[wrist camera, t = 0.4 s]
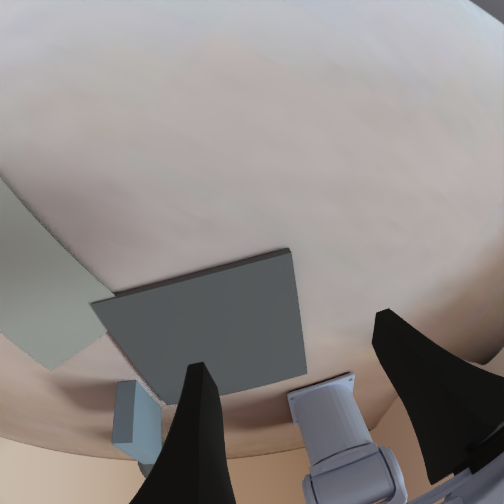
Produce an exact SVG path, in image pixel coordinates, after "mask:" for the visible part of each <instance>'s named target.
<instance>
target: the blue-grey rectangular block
mask: <svg viewBox="0 0 504 504" xmlns="http://www.w3.org/2000/svg"><path fill="white" fill-rule="evenodd" d="M112 444H113V445H114V446H116V447H117V448H119V449H120V450H122V451H123V452H125V453H126V454H128V455H129V456H131V457H132V458H134V459H136V460H137V461H139V462H140V463H142V464H155V462H156V460H157V458H158V456H159V454H160V452H161V449H162V436H161V407H160V406H159V405H158V404H157V403H156V402H155V401H154V400H153V398H152V397H151V396H150V395H149V394H148V393H147V392H146V391H145V390H144V388H143V387H142V386H141V385H140V384H139V383H138V381H137V380H133V381H126V382H118V384H117V392H116V400H115V410H114V420H113V432H112Z"/></svg>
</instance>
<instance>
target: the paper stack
mask: <svg viewBox="0 0 504 504" xmlns="http://www.w3.org/2000/svg"><path fill="white" fill-rule="evenodd" d="M113 297H116V296H115V295H114V294H113V293H112V292H110V291H109V290H108V289H107V288H106V287H105V286H104V285H103V284H101V283H100V282H99V281H98V280H97V279H96V278H95V277H94V276H93V275H92V274H90V273H89V272H88V271H87V270H86V269H85V268H84V267H83V266H82V265H81V264H80V263H79V262H78V261H77V260H76V259H75V258H74V257H73V256H71V255H70V254H69V253H68V252H67V251H66V250H65V249H64V248H63V247H62V246H61V245H60V244H59V243H58V242H57V241H56V240H55V239H54V238H53V236H52V235H51V234H50V233H49V232H48V231H47V230H46V229H45V228H44V227H43V226H42V225H41V224H40V223H39V222H38V221H37V220H36V218H35V217H34V216H33V215H32V214H31V213H30V212H29V211H28V210H27V208H26V207H25V206H24V205H23V204H22V203H21V202H20V200H19V199H18V198H17V197H16V196H15V195H14V193H13V192H12V191H11V190H10V189H9V187H8V186H7V185H6V184H5V183H4V181H3V180H2V179H1V178H0V332H1V333H2V334H3V335H4V336H5V337H6V338H8V339H9V340H10V341H11V342H13V343H14V344H15V345H16V346H18V347H19V348H20V349H21V350H23V351H24V352H25V353H27V354H28V355H29V356H31V357H32V358H33V359H35V360H36V361H37V362H39V363H40V364H41V365H43V366H44V367H46V368H47V369H49V370H50V371H51V370H53V369H54V368H56V367H57V366H58V365H60V364H61V363H63V362H64V361H66V360H67V359H68V358H70V357H71V356H73V355H74V354H76V353H77V352H79V351H80V350H81V349H83V348H84V347H86V346H87V345H89V344H90V343H92V342H93V341H95V340H96V339H97V338H99V337H100V336H102V335H103V334H105V333H106V332H108V330H107V328H106V327H105V325H104V324H103V322H102V321H101V319H100V318H99V317H98V315H97V314H96V312H95V310H94V309H93V307H92V306H91V303H93V302H97V301H101V300H105V299H109V298H113Z"/></svg>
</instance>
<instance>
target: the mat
mask: <svg viewBox="0 0 504 504" xmlns="http://www.w3.org/2000/svg"><path fill="white" fill-rule="evenodd" d="M114 295H115V296H116V297H113V298H109V299H105V300H101V301H97V302H93V303H91V306H92V307H93V309H94V310H95V312H96V314H97V315H98V317H99V318H100V319H101V321H102V322H103V324H104V325H105V327H106V328H107V330H108V331H109V333H110V334H111V335H112V337H113V338H114V340H115V341H116V342H117V344H118V345H119V346H120V348H121V349H122V350H123V352H124V353H125V354H126V356H127V357H128V358H129V360H130V361H131V362H132V364H133V365H134V366H135V367H136V369H137V370H138V371H139V372H140V374H141V375H142V376H143V377H144V379H145V380H146V381H147V382H148V383H149V385H150V386H151V387H152V388H153V389H154V391H155V392H156V393H157V394H158V395H159V396H160V398H161V399H162V400H163V401H164V402H165V403H166V404H167V405H171V404H178V403H179V399H180V396H181V392H182V388H183V384H184V380H185V375H186V370H187V366H188V365H189V364H194V363H198V362H204V363H205V365H206V367H207V369H208V371H209V373H210V375H211V376H212V378H213V380H214V382H215V384H216V385H217V387H218V392H219V396H221V395H226V394H231V393H235V392H240V391H244V390H248V389H252V388H256V387H261V386H264V385H268V384H272V383H276V382H280V381H283V380H287V379H290V378H294V377H297V376H301V375H304V374H307V366H306V358H305V349H304V341H303V333H302V325H301V318H300V310H299V303H298V296H297V288H296V281H295V274H294V268H293V261H292V254H291V251H290V249H289V248H287V249H283V250H280V251H276V252H272V253H268V254H265V255H261V256H257V257H253V258H250V259H246V260H242V261H238V262H235V263H231V264H227V265H223V266H219V267H216V268H212V269H208V270H204V271H201V272H197V273H193V274H189V275H185V276H182V277H178V278H174V279H170V280H166V281H162V282H159V283H155V284H151V285H147V286H143V287H139V288H136V289H132V290H128V291H124V292H120V293H116V294H114Z"/></svg>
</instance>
